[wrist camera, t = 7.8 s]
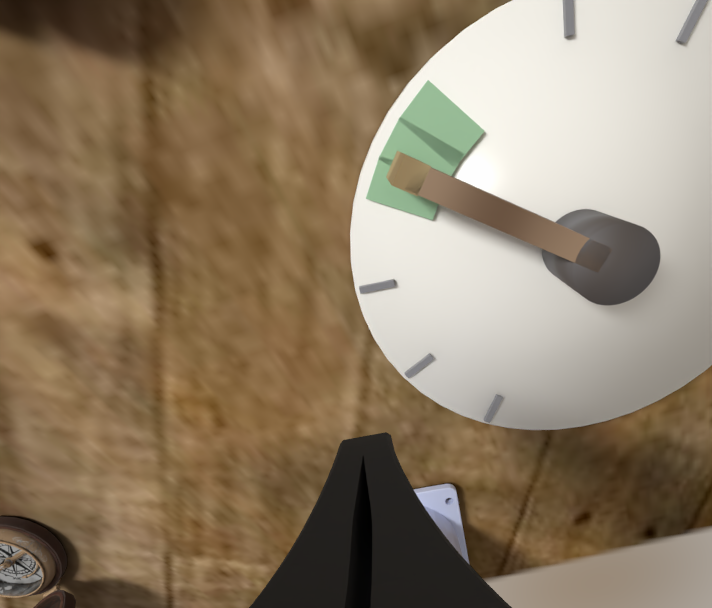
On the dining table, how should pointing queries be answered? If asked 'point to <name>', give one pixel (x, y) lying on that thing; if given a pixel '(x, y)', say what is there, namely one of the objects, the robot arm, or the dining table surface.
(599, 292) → the tuning pointer
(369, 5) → the dining table surface
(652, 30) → the gauge dial
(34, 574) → the compass
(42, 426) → the dining table surface
